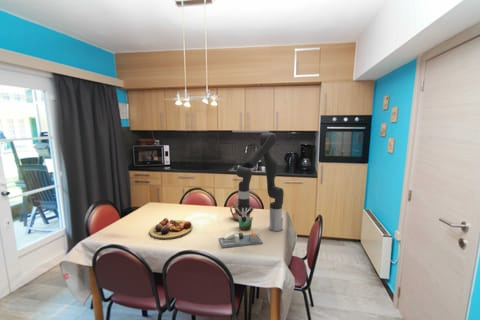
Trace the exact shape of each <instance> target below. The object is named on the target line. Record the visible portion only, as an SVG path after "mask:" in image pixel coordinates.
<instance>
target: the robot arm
mask: <svg viewBox="0 0 480 320" xmlns="http://www.w3.org/2000/svg"><path fill="white" fill-rule="evenodd" d="M277 137H278V136H277V135H276V133H273V132H262V133H261V134H260V135H259V144H260V147H259V148H258V149H256V150H254V151H253V152H252V153H251V154H249V157H248V158H247V159H246V160H245V161H244V162H243V163H242V164H240V165H239V166H238V168H237V169H236V176H237V177H238V178H242V180H241V181H239V182H238V192H237V193H238V194H237V198H238V199H237V201H238V207H237V208H236V209H234V208H233V209H234V212H236V213H237V214H238V215H239V216H240V217H242V219H241V220H242V222H245V221H246V216H249V215H250V216H251V213H252V212H253V210H254V208H253V207H252V206H251V205H250V185H251V184H250V183H251V179H252V177H253V176H252V175H253V172H252V169H254V168H255V167H256V166H257V164H258V163H259V162H260V160H261V159H262V158H263V162H264V170H265V175H266V177H265V178H266V185H267V187H266V189H267V195H268V197H269V198H271V199H274V201H273V202H271V203H270V204H269V230H270V231H273V232H280V231H281V230H284V229H283V225H284V224H283V223H284V218H283V215H282V214H283V205H284V195H285V193H284V192H285V191H284V189H283V188H282V187H279V186H276V184H275V179H276V177H277V175H278V172H279V167H278V161H277V159H276V158H275V156H274V155H273V153H272V151H271V149H272V148H273V146H274V145H276V143H277ZM238 209H239V210H240V211H241V214H240V213H239V212H238V211H239V210H238Z"/></svg>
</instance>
